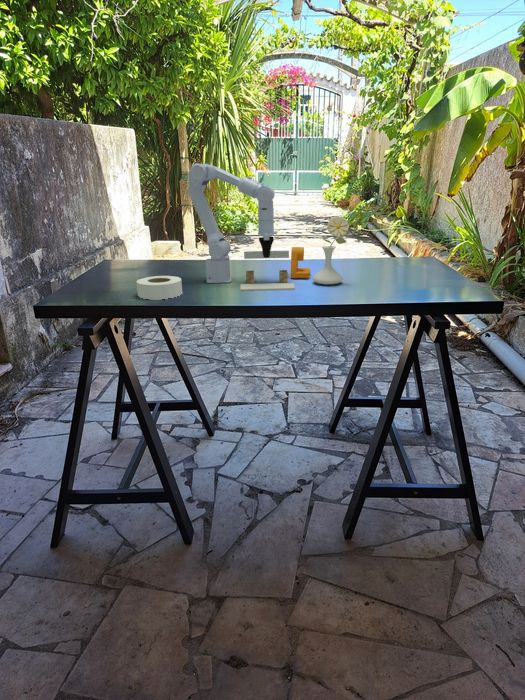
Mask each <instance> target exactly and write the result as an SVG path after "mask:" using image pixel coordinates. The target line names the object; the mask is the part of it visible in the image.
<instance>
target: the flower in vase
mask: <svg viewBox="0 0 525 700" xmlns="http://www.w3.org/2000/svg"><path fill="white" fill-rule="evenodd" d="M349 228H350V224H349V222H348V220H347V219H346V218H345V217H343V216H339V215H336V216H333V217H332V218H330V219H329V220H328V223H327V225H326V229H327V232H329V235H331V236H333V237H334V239H333V241H332V242H331V241H330V240H328V239H325V238H324V237H322V240H323V241H325V242H327V243H329V244H330V245H324V246H321V248H322V249H323V252H324V255H325V256H324V257H325V262H324V263H325V264H324V266H323V267H322V268H321V270H319V271H318V272H317V273H315V275H314V276H313V277H312V280H313V282H314V283H316V284H320V285H335V284H339V283H342V281H343V280H344V278H343V276H342V275H341V274H340V272H338V271H337V270H336V269H335V268H334V267H333V266H332V256H333V253H334V250H335V249H336V246H333V244H334V242H336V243H337V244H338V245H342V244H345V243H347V240H346V239H345V238H344V237H342V236H345V235H346V234H348V231H349Z"/></svg>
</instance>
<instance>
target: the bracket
mask: <svg viewBox="0 0 525 700" xmlns="http://www.w3.org/2000/svg"><path fill="white" fill-rule="evenodd" d="M290 251H291V253H290V278H291V279H310V277H309V276H311V268H310V267H299V261H300V262H304V261H305V247H304V246H292V247H291V250H290Z"/></svg>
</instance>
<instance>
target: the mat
mask: <svg viewBox="0 0 525 700" xmlns="http://www.w3.org/2000/svg"><path fill="white" fill-rule="evenodd" d="M239 287H240V289H239V291H241V292H244V291H246V292H248V291H249V290H253V291H292V290H293V291H295V290H296V286H295V284H294V283H293V282H290V283H289V282H288V283H280V282H278V283H254V284H246V283H240V286H239Z"/></svg>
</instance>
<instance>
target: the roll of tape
mask: <svg viewBox="0 0 525 700" xmlns="http://www.w3.org/2000/svg"><path fill="white" fill-rule="evenodd" d="M182 282H183V281H182V278H181V277H180V276H173V275H155V276H147V277H143V278H139V279H137V280H136V290H137V291H136V292H137V297H138V296H139V297H140V298H139V297H138V298H139V299H141V298H143V299H142V300H145V299H149V300H148V301H162V299H165V300H169V299H168V298H172V299H175V298H174V297H176V298H178V297H177V296H179V297H180V295H181V294H182V295H183V285H182V284H183V283H182ZM182 295H181V296H182Z"/></svg>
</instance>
